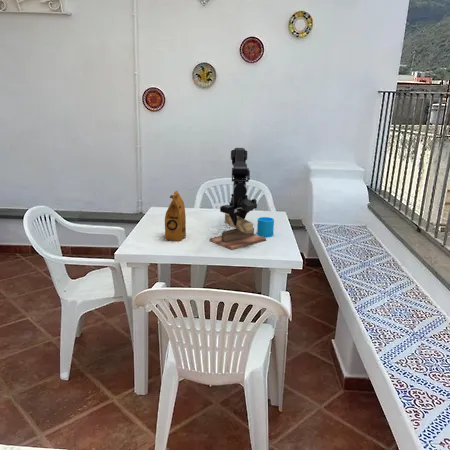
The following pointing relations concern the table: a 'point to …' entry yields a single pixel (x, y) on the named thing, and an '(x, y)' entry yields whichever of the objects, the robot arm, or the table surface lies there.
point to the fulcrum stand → (236, 239)
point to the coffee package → (175, 219)
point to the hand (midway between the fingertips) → (238, 224)
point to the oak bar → (240, 224)
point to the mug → (265, 227)
